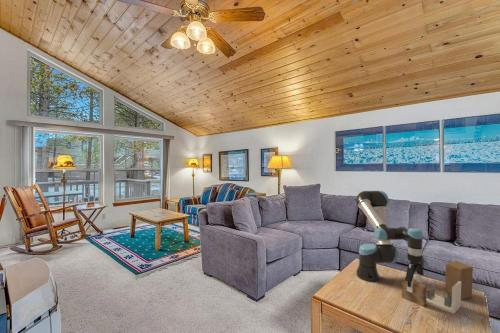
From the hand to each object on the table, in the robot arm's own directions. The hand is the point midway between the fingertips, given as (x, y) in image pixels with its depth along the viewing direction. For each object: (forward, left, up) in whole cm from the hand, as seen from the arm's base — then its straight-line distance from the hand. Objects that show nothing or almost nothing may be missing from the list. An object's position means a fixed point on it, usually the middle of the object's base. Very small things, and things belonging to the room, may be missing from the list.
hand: (414, 288), depth 149 cm
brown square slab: (0, 0, -8) cm, 8 cm away
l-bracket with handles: (+10, +11, -8) cm, 17 cm away
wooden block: (+14, +31, -9) cm, 35 cm away
